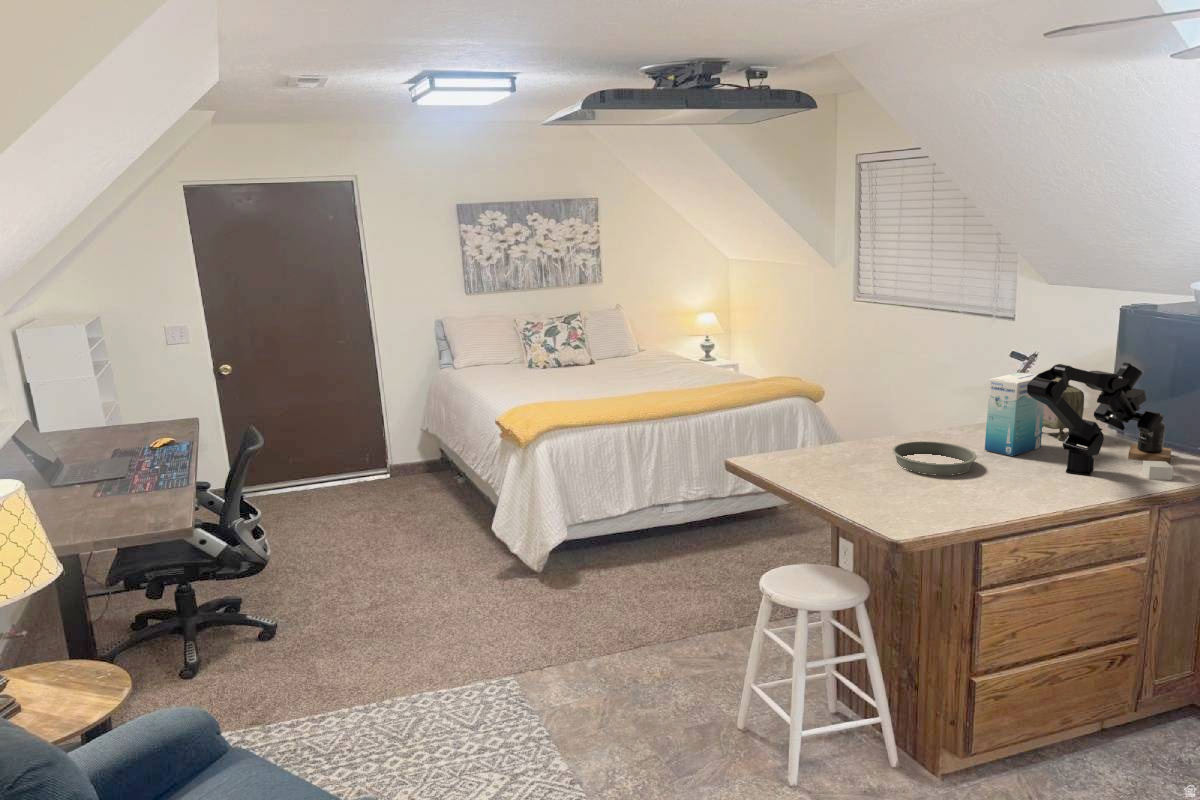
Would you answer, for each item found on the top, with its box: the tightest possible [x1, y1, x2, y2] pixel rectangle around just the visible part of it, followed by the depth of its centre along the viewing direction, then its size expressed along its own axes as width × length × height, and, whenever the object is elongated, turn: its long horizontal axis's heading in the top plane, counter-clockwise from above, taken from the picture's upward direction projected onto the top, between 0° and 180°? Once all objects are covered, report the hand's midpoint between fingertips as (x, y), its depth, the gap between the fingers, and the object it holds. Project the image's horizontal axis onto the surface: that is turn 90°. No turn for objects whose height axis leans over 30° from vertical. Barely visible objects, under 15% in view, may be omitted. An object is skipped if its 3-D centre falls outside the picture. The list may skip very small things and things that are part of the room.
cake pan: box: [891, 440, 978, 476], centre depth 278 cm, size 25×25×4 cm
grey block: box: [1141, 461, 1174, 481], centre depth 262 cm, size 6×6×4 cm
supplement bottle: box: [1137, 412, 1166, 454], centre depth 279 cm, size 7×7×12 cm
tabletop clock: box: [1042, 363, 1085, 441], centre depth 304 cm, size 14×9×25 cm, turn 10°
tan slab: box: [1127, 443, 1172, 465], centre depth 281 cm, size 11×11×2 cm
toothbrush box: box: [984, 372, 1044, 457], centre depth 290 cm, size 18×10×24 cm, turn 126°
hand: (1137, 432), depth 276 cm, fingers open, 9 cm apart
